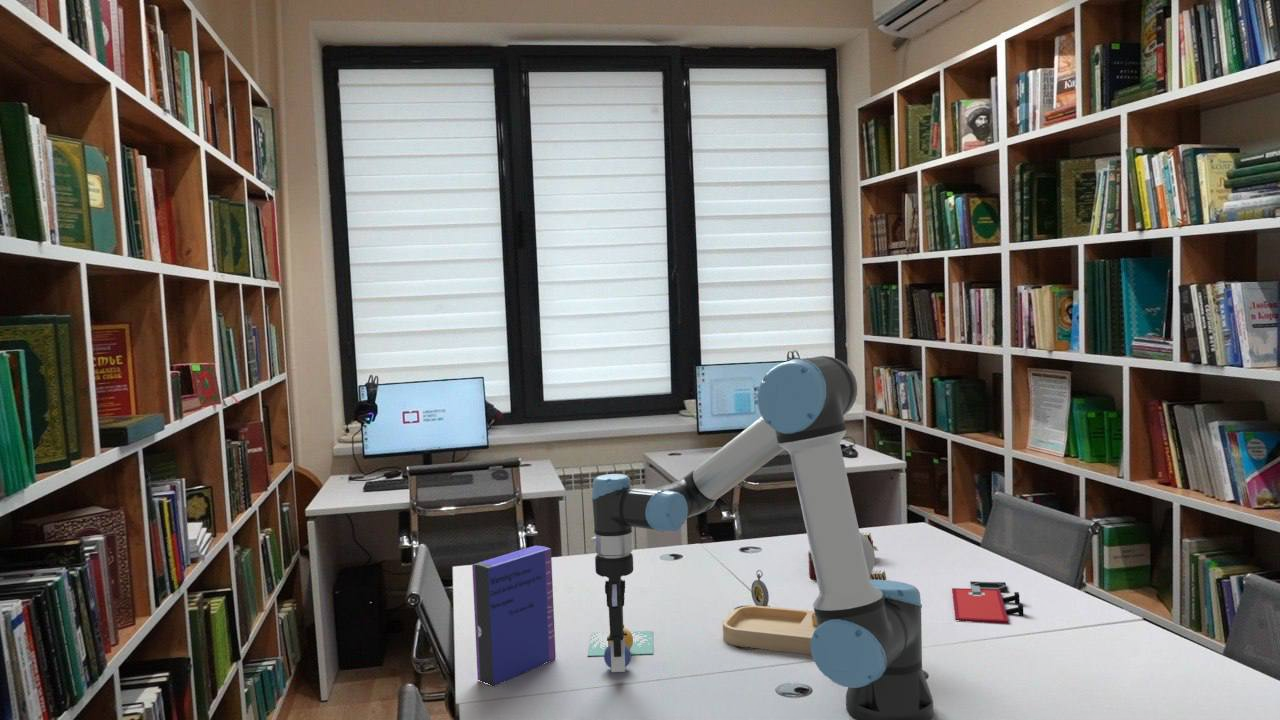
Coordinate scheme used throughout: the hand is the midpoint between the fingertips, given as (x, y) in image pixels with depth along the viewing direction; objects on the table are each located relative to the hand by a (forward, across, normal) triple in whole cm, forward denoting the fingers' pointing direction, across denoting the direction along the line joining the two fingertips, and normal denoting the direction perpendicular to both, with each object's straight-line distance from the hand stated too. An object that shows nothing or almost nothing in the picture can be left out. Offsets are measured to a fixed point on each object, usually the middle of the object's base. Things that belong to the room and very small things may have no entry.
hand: (618, 670), depth 183 cm
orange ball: (-1, -14, 0) cm, 14 cm away
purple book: (+2, -7, -21) cm, 22 cm away
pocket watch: (+2, -37, +31) cm, 49 cm away
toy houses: (+3, -65, +60) cm, 89 cm away
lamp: (+2, -19, +39) cm, 44 cm away
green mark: (+2, -20, 0) cm, 20 cm away
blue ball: (-1, -6, 0) cm, 6 cm away
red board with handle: (+3, -39, +88) cm, 96 cm away
